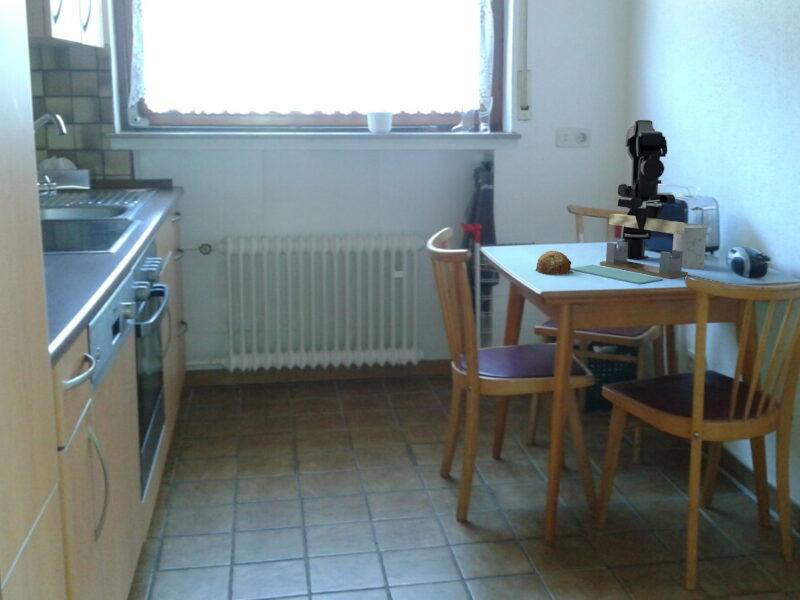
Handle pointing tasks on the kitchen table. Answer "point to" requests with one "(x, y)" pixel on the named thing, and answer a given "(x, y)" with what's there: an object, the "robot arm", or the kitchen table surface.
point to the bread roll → (553, 263)
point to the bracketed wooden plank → (667, 269)
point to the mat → (616, 274)
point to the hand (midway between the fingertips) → (644, 230)
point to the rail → (647, 223)
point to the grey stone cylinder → (691, 245)
